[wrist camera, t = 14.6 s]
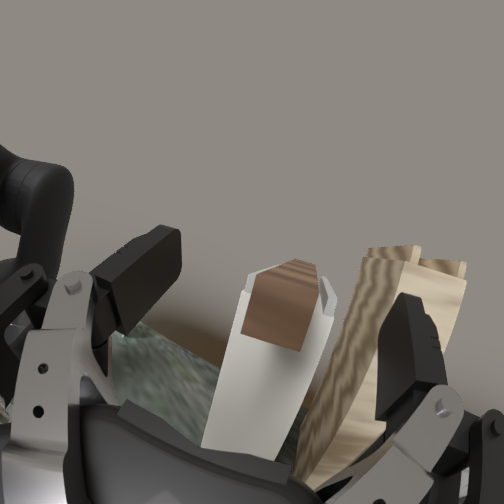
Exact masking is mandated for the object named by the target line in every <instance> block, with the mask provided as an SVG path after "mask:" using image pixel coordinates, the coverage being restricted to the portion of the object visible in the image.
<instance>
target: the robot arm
mask: <svg viewBox="0 0 504 504" xmlns="http://www.w3.org/2000/svg"><path fill="white" fill-rule="evenodd" d="M73 199H74V182H73V177H72V175H71V173H70V171H69V170H68V169H67V168H65V167H63V166H61V165H57V164H52V163H46V162H40V161H34V160H28V159H24V158H21V157H18V156H16V155H14V154H13V153H11V152H10V151H8V150H7V149H6V148H4V147H3V146H2V145H0V226H2V227H3V228H5V229H6V230H8V231H11V232H13V233H16V234H19V235H21V237H20V242H19V248H18V252H17V256H16V258H11V259H6V260H2V261H0V423H1V424H0V504H458V501H459V493H460V485H461V474H462V471H463V470H465V469H466V468H468V467H469V479H468V490H467V496H466V499H465V501H464V503H463V504H504V415H503V414H502V413H501V412H500V411H498V410H495V409H492V410H489V411H487V412H486V413H485V414H484V415H482V416H481V417H478V416H476V415H473V414H471V413H469V412H467V411H465V410H464V405H463V402H462V399H461V397H460V396H459V394H458V393H457V392H456V391H455V390H454V389H453V388H451V387H449V386H448V383H447V377H446V371H445V365H444V359H443V354H442V351H441V344H440V341H439V335H438V331H437V327H436V325H435V323H434V322H433V320H432V318H431V317H430V315H428V314H425V310H424V306H423V302H422V299H421V297H418V296H414V295H411V294H407V293H404V292H401V293H399V295H398V296H397V298H396V300H395V302H394V303H393V305H392V307H391V309H390V311H389V313H388V314H387V316H386V318H385V320H384V321H383V323H382V325H381V328H380V330H379V334H378V366H377V394H376V409H375V420H376V421H383V422H386V429H385V430H384V431H382V432H381V433H380V434H379V435H378V436H377V437H376V439H375V440H374V441H373V442H372V443H371V444H370V445H369V446H368V447H367V448H366V449H364V450H363V451H362V452H361V453H360V454H359V455H358V456H357V457H356V458H355V459H354V460H353V461H352V462H350V463H349V464H348V465H347V466H346V467H345V468H344V469H342V470H341V471H340V472H338V473H337V474H335V475H334V476H332V477H331V478H329V479H328V480H327V481H325V482H324V483H322V484H321V485H320V486H318V487H317V488H316V489H314V490H312V489H311V488H310V487H309V486H308V485H307V484H305V483H304V482H303V481H301V480H300V479H298V478H297V477H295V476H293V475H291V474H289V473H290V470H291V467H292V465H288V464H283V463H279V462H275V461H272V460H268V459H264V458H261V457H257V456H254V455H251V454H247V453H236V452H228V451H220V450H213V449H206V448H201V447H199V446H196V445H195V444H193V443H192V442H191V441H189V440H188V439H187V438H185V437H184V436H183V435H182V434H180V433H179V432H178V431H177V430H175V429H174V428H173V427H172V426H170V425H169V424H168V423H167V422H166V421H164V420H163V419H162V418H160V417H158V416H156V415H154V414H152V413H151V412H149V411H147V410H145V409H143V408H141V407H140V406H138V405H136V404H134V403H133V402H131V401H129V400H128V399H127V400H126V401H125V403H124V404H123V405H122V407H121V406H118V404H117V399H116V395H115V392H114V389H113V383H112V336H111V334H112V333H113V332H114V331H115V330H116V331H118V332H120V333H121V334H123V335H125V336H127V335H128V334H129V332H130V331H131V330H132V329H133V328H134V327H135V326H136V324H137V323H138V322H139V321H140V320H141V319H142V318H143V317H144V315H145V314H146V313H147V312H148V311H149V310H150V309H151V307H152V306H153V305H154V304H155V303H156V302H157V301H158V300H159V299H160V297H161V296H162V295H163V294H164V293H165V292H166V291H167V290H168V289H169V287H170V286H171V285H172V284H173V283H174V282H175V281H176V280H177V278H178V277H179V275H180V272H181V268H182V255H181V233H180V231H179V230H178V229H175V228H171V227H168V226H164V225H158V226H157V227H155V228H154V229H153V230H151V231H150V232H149V233H147V234H144V235H141V236H139V237H136V238H134V239H132V240H131V241H129V242H128V243H127V244H125V245H124V247H121V248H120V249H119V250H117V252H116V253H114V254H113V255H111V256H110V257H108V258H107V259H106V260H105V261H103V262H102V263H101V264H99V265H98V266H97V267H96V268H94V269H93V270H92V271H91V272H89V273H87V272H83V271H73V272H70V273H67V274H65V275H63V276H62V277H60V278H59V279H58V280H56V277H57V274H58V271H59V267H60V262H61V256H62V250H63V245H64V240H65V236H66V232H67V227H68V223H69V219H70V215H71V211H72V205H73ZM10 402H11V403H12V404H13V411H12V422H11V423H8V422H9V414H8V412H7V411H6V410H5V409H6V407H7V406H8V404H9V403H10Z"/></svg>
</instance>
